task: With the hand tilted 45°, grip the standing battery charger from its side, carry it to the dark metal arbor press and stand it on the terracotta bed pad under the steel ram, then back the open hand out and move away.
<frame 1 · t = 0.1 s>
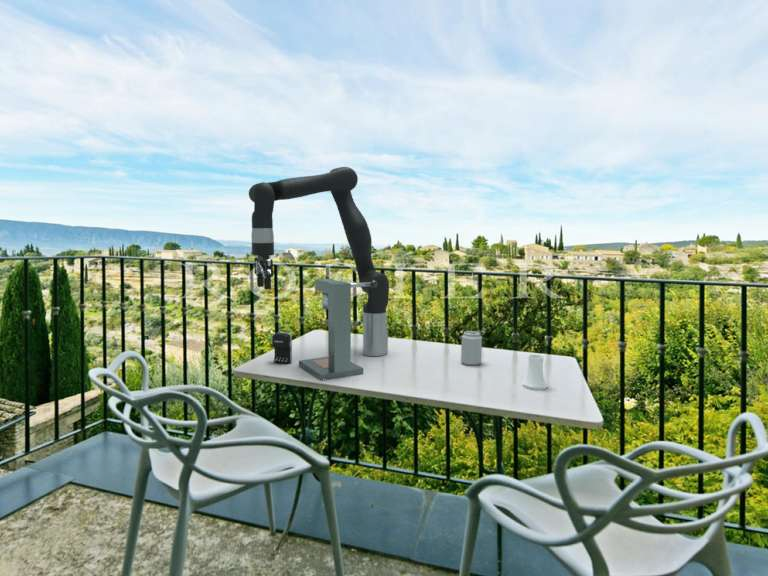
hand: (264, 288, 172), 29 cm above the table, tool pointing down, fingers open, 8 cm apart
battery charger: (281, 363, 183), on the table
press: (330, 369, 175), on the table
vase: (534, 387, 159), on the table
can: (470, 364, 185), on the table
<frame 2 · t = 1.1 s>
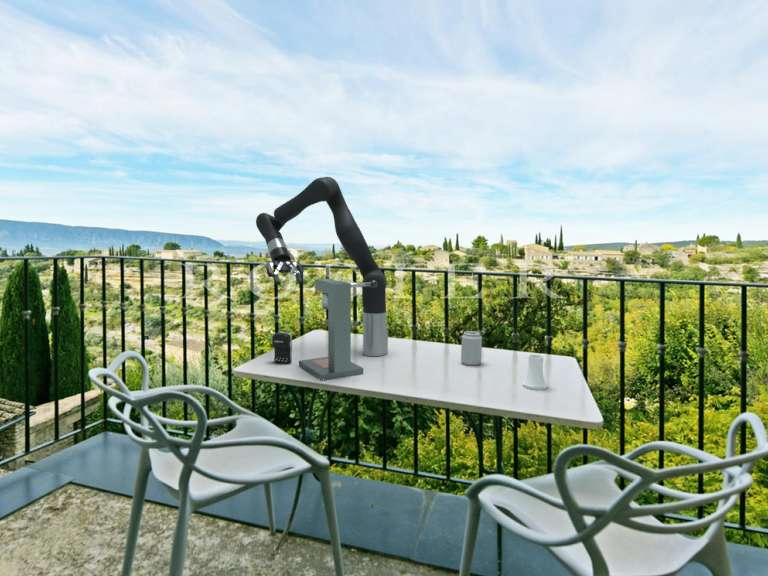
hand: (289, 283, 191), 29 cm above the table, tool tilted 45°, fingers open, 8 cm apart
nothing on the table moved.
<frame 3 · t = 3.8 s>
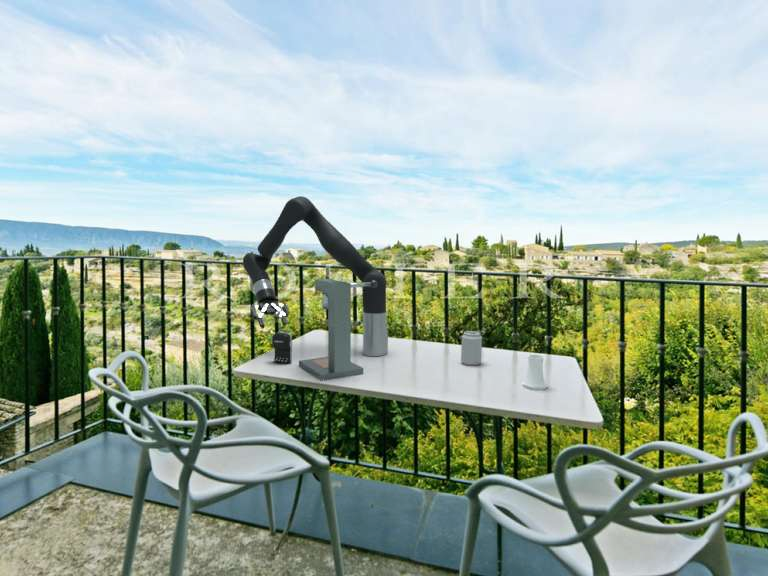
hand: (274, 326, 189), 12 cm above the table, tool tilted 45°, fingers open, 8 cm apart
nothing on the table moved.
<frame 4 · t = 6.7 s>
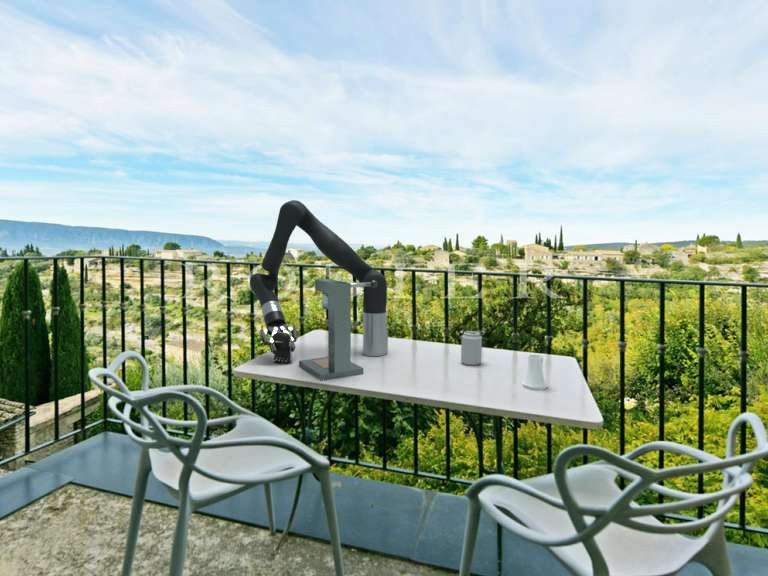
hand: (284, 351, 181), 5 cm above the table, tool tilted 45°, fingers closed on battery charger, 6 cm apart
battery charger: (281, 363, 183), on the table, touching gripper
everything else where it was.
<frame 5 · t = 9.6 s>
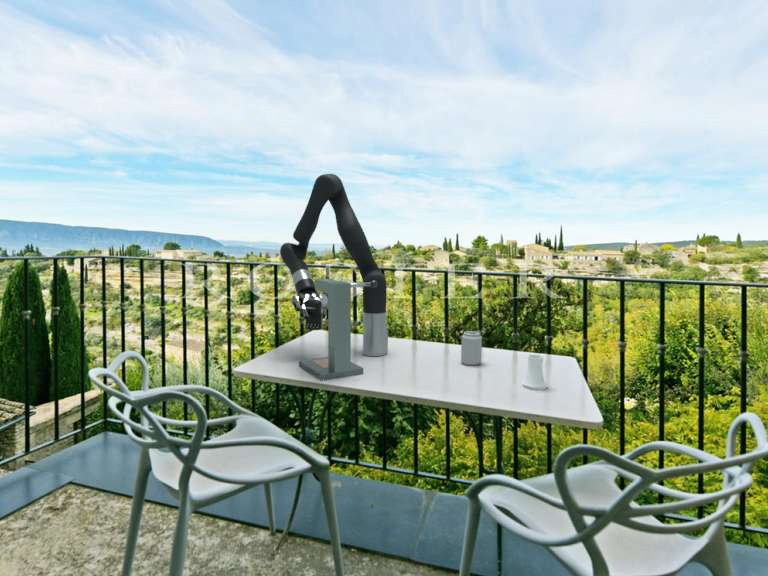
hand: (315, 318, 184), 17 cm above the table, tool tilted 45°, fingers closed on battery charger, 6 cm apart
battery charger: (313, 329, 186), point 12 cm above the table, touching gripper
everything else where it was.
when the fingers open (8 cm above the table, at t = 12.8 s): battery charger drops 1 cm, resting on press.
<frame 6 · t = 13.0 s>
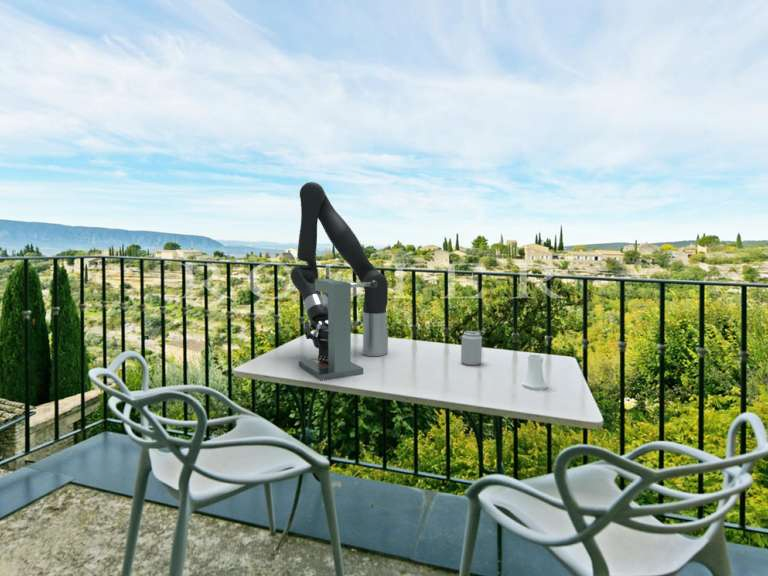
hand: (329, 345, 174), 9 cm above the table, tool tilted 45°, fingers open, 8 cm apart
battery charger: (326, 362, 177), point 2 cm above the table, touching press
everything else where it was.
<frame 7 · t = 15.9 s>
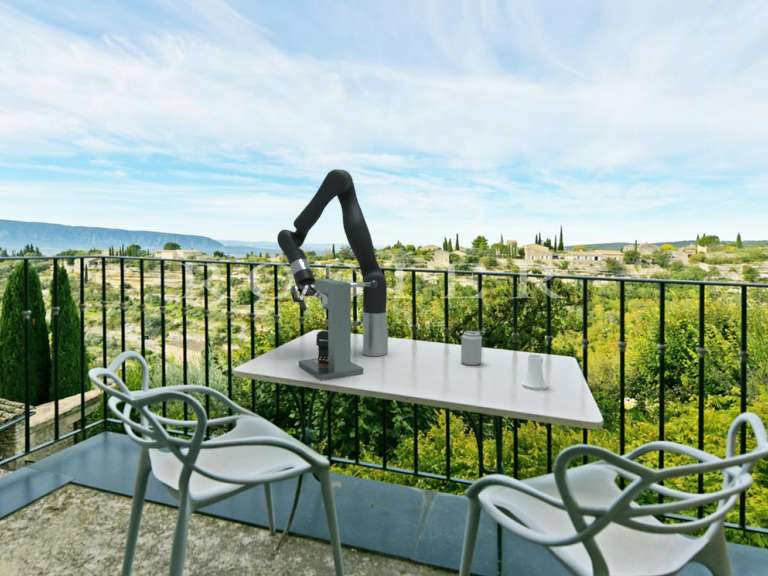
hand: (315, 308, 187), 20 cm above the table, tool tilted 40°, fingers open, 8 cm apart
nothing on the table moved.
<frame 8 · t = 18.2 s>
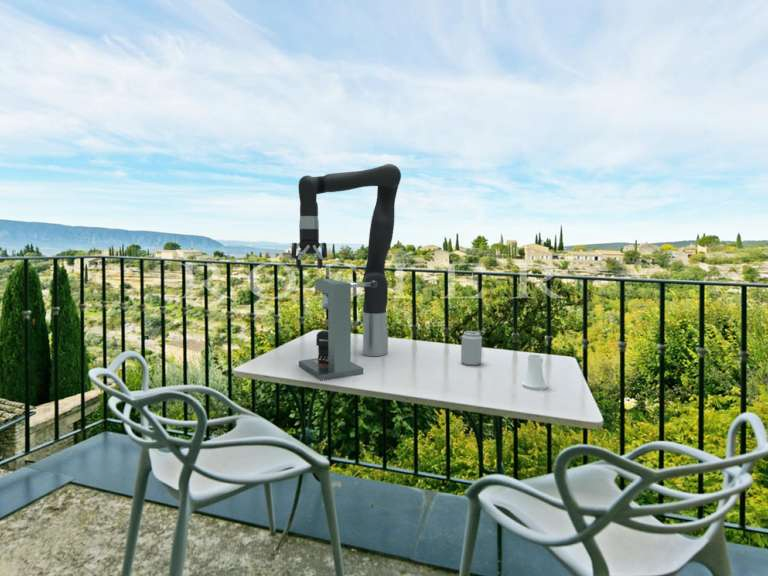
hand: (309, 269, 195), 34 cm above the table, tool pointing down, fingers open, 8 cm apart
nothing on the table moved.
at the end: battery charger inside the target area on the press (0.9 cm from its centre), point 1.9 cm above the press's base; battery charger tilted 0°; the gripper is holding nothing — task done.
